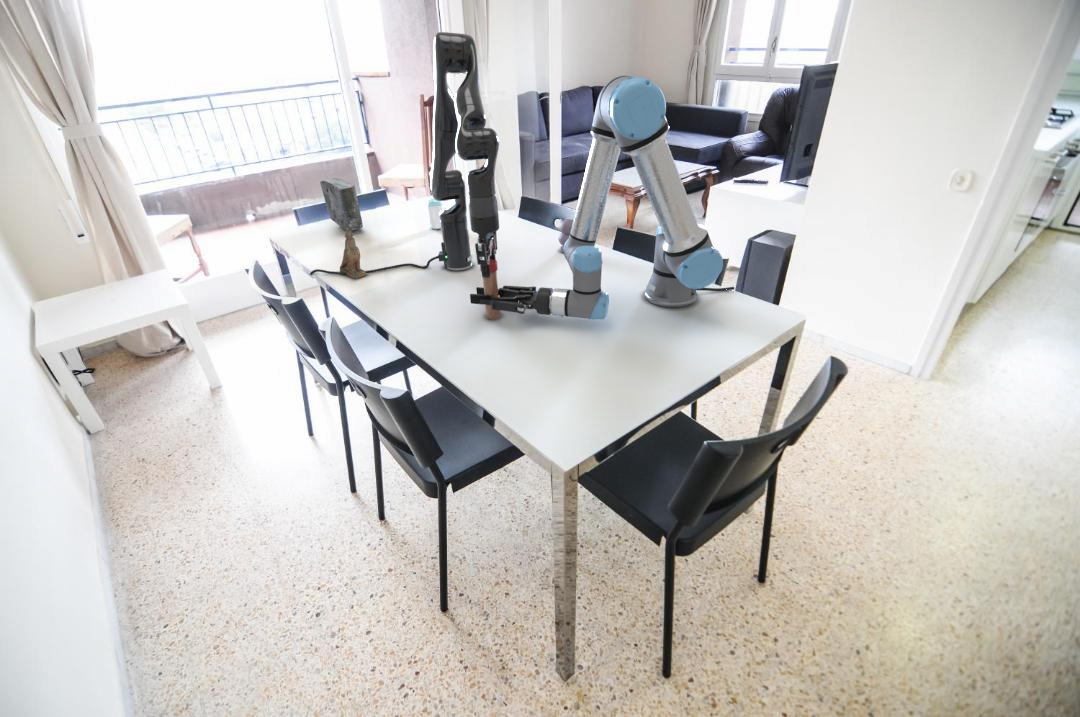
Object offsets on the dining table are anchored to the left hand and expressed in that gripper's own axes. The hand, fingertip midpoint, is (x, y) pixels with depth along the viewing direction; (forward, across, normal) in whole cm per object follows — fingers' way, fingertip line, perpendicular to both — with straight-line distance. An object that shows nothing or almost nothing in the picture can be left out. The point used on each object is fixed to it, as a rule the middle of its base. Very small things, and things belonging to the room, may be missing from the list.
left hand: (489, 272), depth 138 cm
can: (+14, -85, -45) cm, 97 cm away
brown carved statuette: (+14, -29, -59) cm, 67 cm away
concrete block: (+14, -82, -88) cm, 121 cm away
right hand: (+7, -1, -5) cm, 9 cm away
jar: (+14, 0, 0) cm, 14 cm away
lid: (-3, 0, 0) cm, 3 cm away
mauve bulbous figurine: (+14, -57, +16) cm, 61 cm away
